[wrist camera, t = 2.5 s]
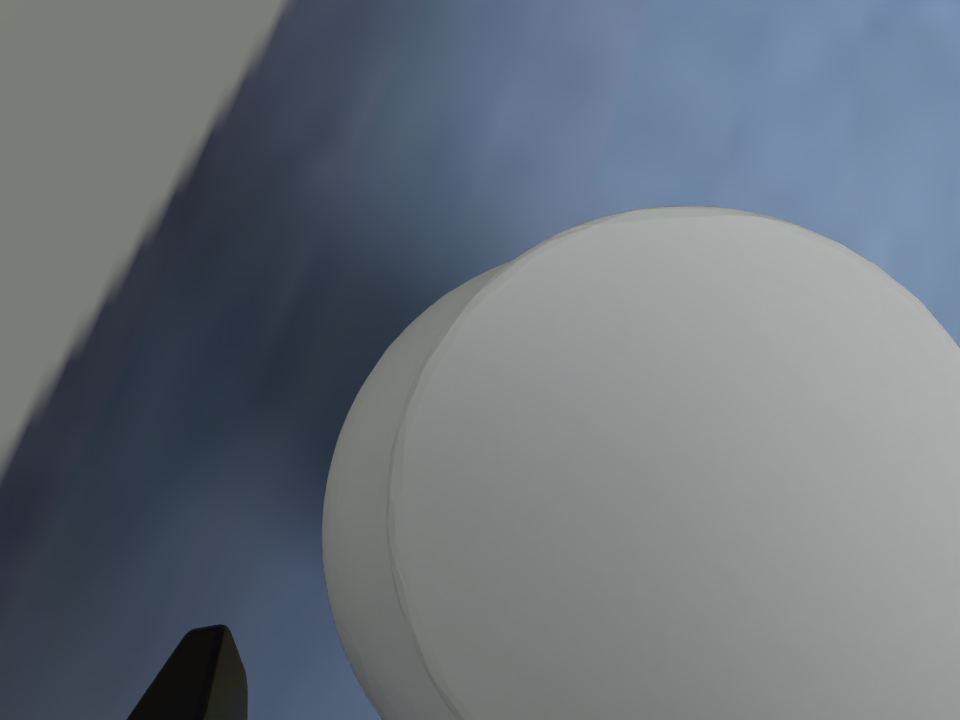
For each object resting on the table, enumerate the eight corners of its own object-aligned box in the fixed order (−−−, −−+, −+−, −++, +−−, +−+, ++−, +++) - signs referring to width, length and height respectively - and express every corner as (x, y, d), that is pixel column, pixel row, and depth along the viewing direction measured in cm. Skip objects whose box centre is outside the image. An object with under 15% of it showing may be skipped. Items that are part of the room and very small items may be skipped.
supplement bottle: (435, 356, 19) (417, -20, 7) (711, 440, 19) (1212, 210, 7) (339, 647, 18) (89, 852, 5) (639, 742, 18) (1124, 1191, 5)
